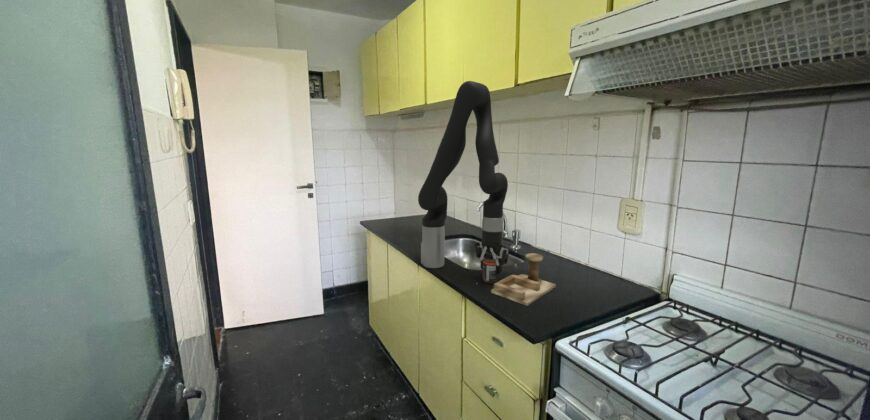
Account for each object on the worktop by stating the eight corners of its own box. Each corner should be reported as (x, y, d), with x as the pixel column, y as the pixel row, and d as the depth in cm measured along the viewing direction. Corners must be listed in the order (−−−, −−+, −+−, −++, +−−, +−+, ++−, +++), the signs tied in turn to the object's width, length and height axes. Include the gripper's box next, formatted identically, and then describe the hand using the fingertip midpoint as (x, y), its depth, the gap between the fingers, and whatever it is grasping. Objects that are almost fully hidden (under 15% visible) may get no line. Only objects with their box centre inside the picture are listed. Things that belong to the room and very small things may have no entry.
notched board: (490, 292, 122) (491, 283, 122) (521, 276, 136) (521, 267, 136) (526, 306, 113) (527, 295, 112) (555, 286, 127) (556, 277, 126)
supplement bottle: (481, 277, 135) (482, 249, 133) (497, 277, 135) (498, 249, 132) (482, 284, 129) (483, 254, 127) (499, 284, 129) (500, 255, 127)
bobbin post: (521, 282, 128) (522, 256, 126) (529, 277, 133) (531, 252, 131) (536, 287, 124) (537, 260, 122) (544, 282, 129) (546, 255, 126)
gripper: (470, 226, 130) (469, 269, 134) (503, 234, 120) (501, 280, 124) (482, 223, 135) (481, 264, 139) (515, 230, 125) (513, 274, 129)
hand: (490, 271), depth 131 cm, fingers closed on supplement bottle, 6 cm apart
